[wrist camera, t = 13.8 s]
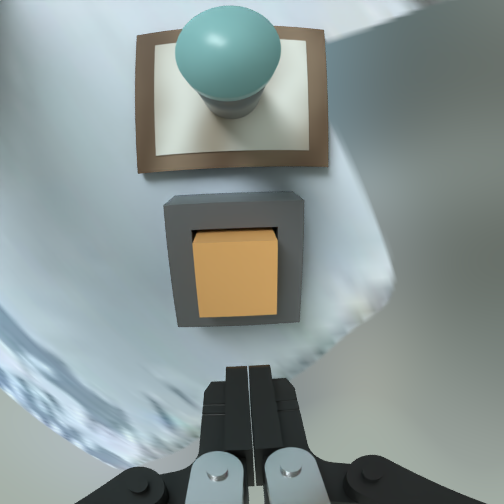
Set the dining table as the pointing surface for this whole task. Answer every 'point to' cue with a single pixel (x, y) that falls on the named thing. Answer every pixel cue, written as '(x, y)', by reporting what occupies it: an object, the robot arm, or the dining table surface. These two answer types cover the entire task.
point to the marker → (228, 58)
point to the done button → (236, 271)
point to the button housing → (235, 216)
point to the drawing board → (232, 130)
